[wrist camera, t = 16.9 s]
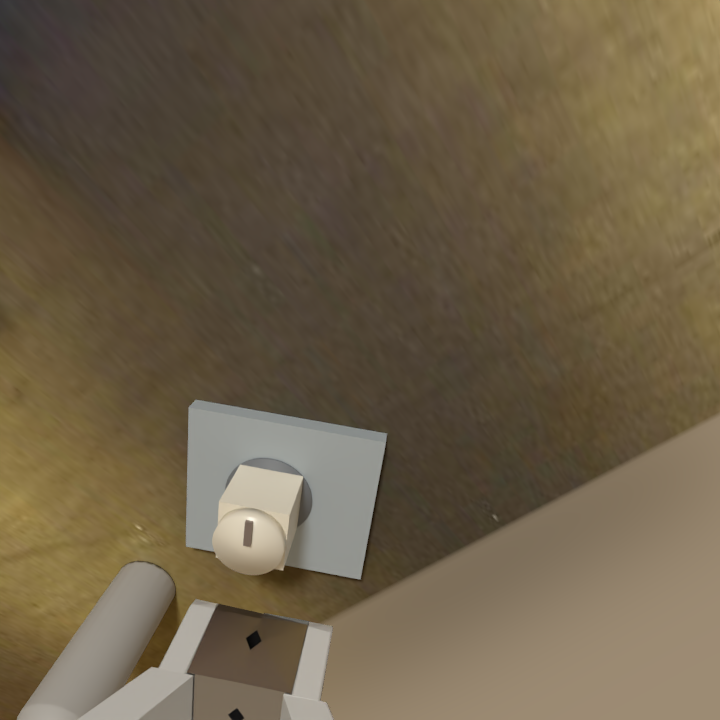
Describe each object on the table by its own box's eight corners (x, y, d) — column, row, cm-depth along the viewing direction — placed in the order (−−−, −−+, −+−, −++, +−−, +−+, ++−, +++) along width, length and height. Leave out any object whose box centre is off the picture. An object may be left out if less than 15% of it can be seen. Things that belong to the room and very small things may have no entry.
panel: (386, 433, 48) (382, 474, 42) (362, 567, 54) (354, 620, 48) (195, 399, 49) (163, 434, 42) (192, 535, 55) (163, 583, 48)
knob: (296, 528, 51) (278, 583, 44) (236, 516, 51) (209, 570, 44) (303, 476, 48) (285, 527, 42) (240, 464, 49) (212, 513, 42)
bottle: (119, 601, 59) (-113, 950, 33) (116, 556, 57) (-139, 894, 31) (176, 611, 59) (-15, 971, 33) (175, 566, 56) (-33, 916, 30)
